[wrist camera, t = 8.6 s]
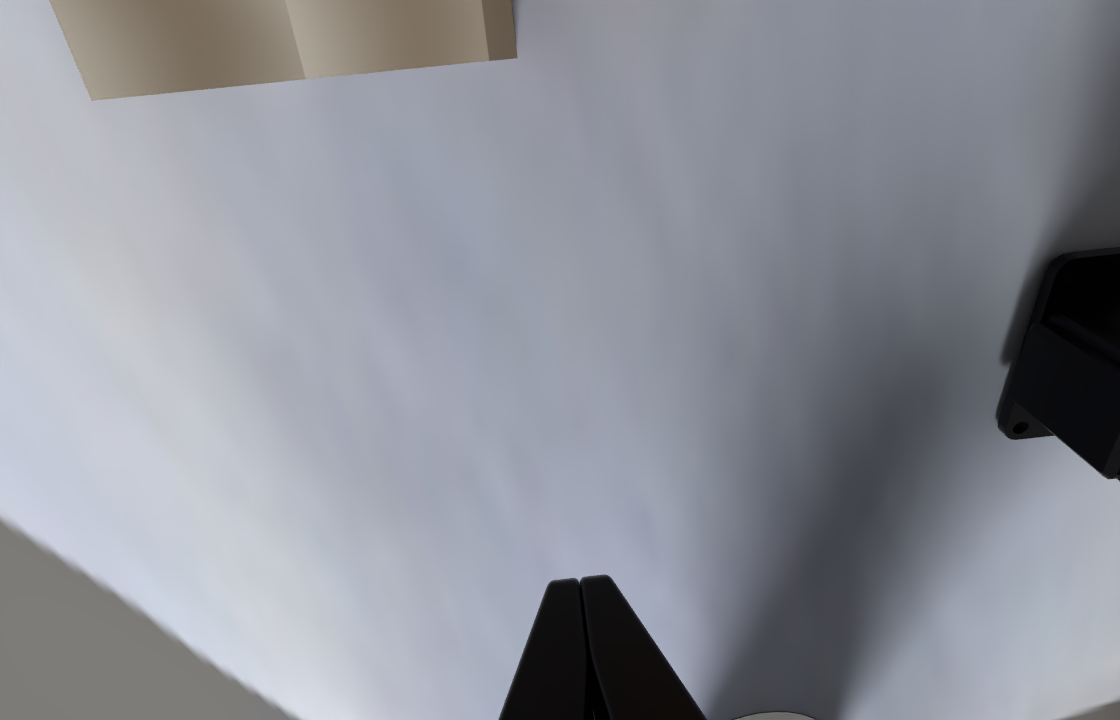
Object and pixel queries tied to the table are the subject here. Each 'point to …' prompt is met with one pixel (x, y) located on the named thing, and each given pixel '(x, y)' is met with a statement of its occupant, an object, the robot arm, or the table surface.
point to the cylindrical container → (776, 716)
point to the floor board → (271, 40)
